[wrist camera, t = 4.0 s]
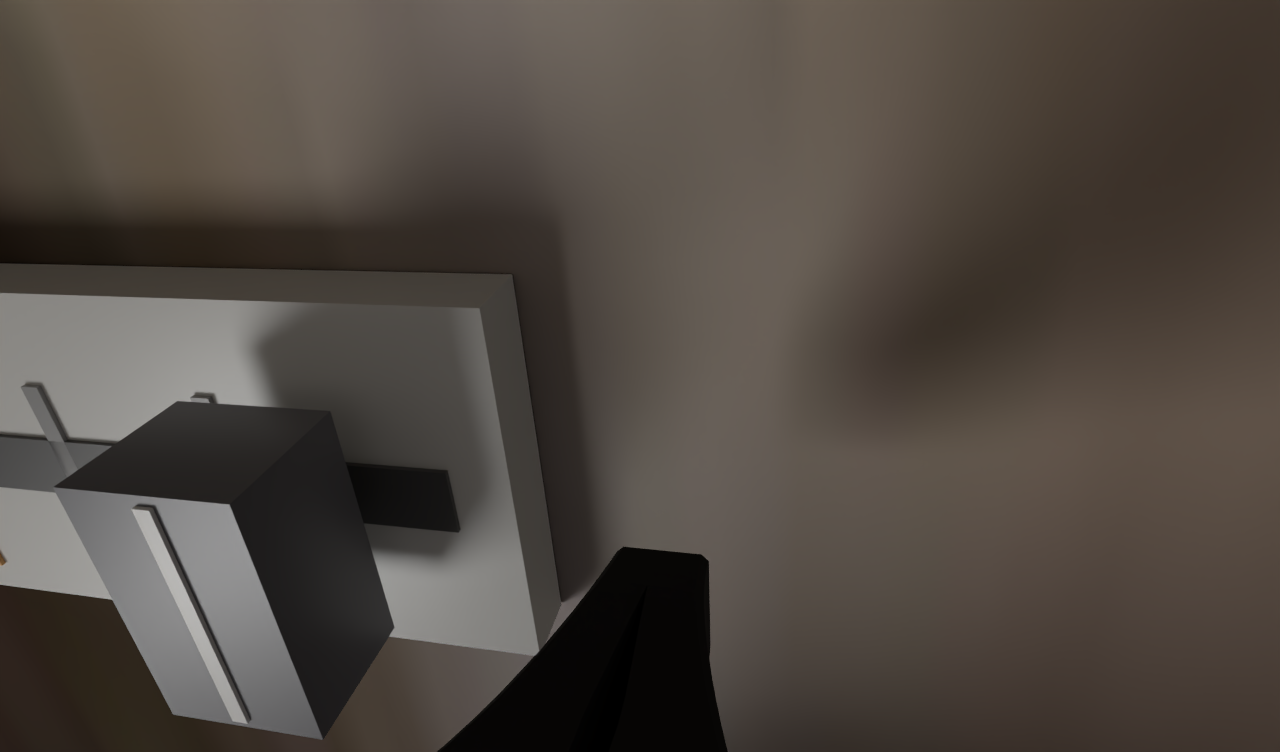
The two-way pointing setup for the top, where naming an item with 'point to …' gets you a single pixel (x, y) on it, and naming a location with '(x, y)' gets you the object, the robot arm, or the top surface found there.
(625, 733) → the robot arm
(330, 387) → the fader board
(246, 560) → the fader knob
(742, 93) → the top surface
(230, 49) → the top surface
